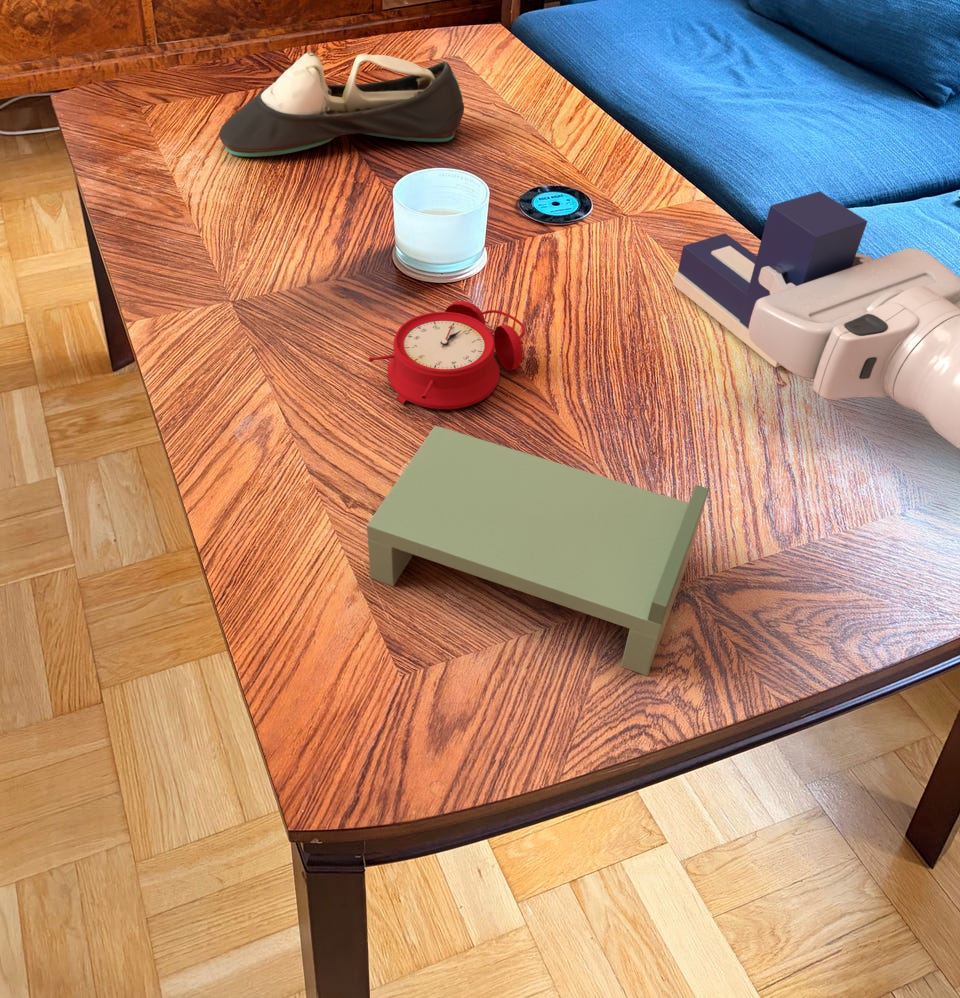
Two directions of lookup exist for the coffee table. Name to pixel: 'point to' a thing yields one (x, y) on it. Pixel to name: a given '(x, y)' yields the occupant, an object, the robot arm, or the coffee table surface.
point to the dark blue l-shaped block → (769, 259)
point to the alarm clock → (451, 357)
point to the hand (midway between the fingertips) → (795, 262)
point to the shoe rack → (540, 533)
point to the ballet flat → (346, 108)
